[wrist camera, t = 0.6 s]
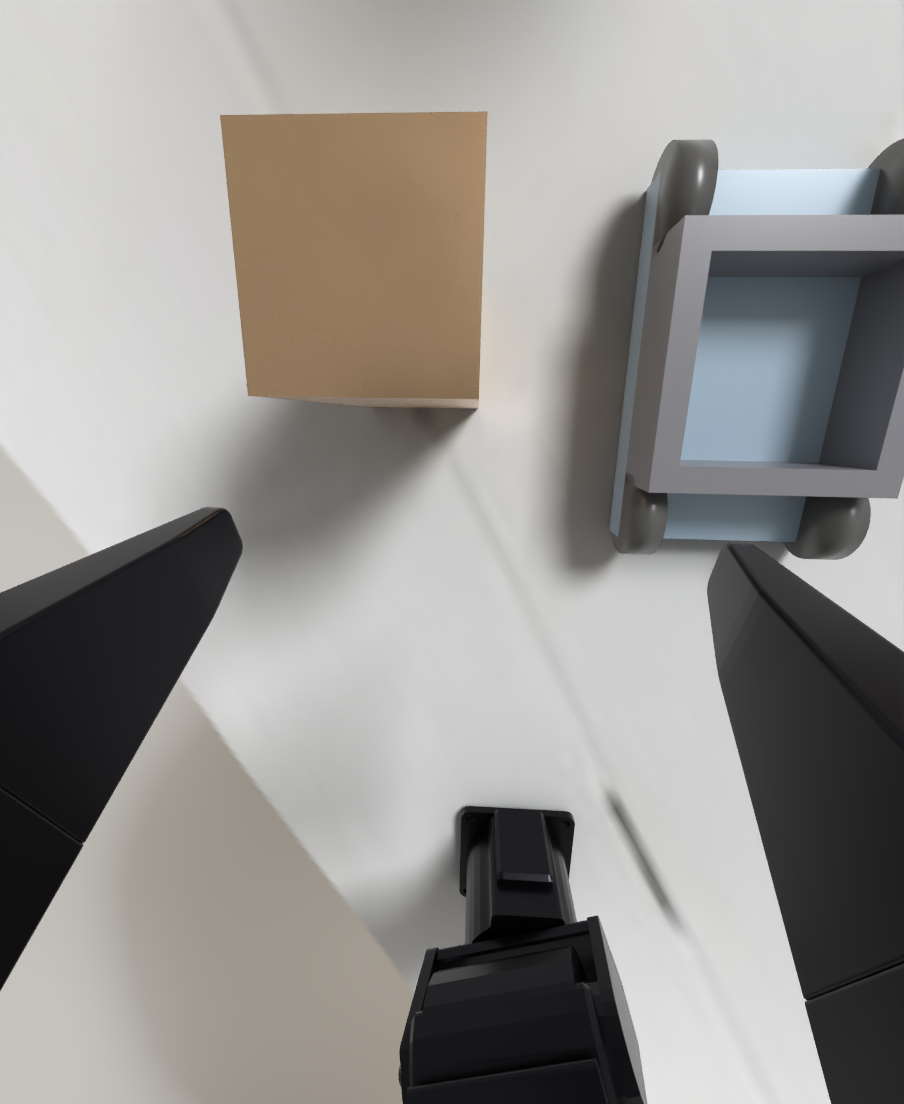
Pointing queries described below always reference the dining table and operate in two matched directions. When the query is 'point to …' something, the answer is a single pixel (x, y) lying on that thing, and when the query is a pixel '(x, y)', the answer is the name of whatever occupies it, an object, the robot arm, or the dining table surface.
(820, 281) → the chassis
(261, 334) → the tall tan wooden block
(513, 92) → the dining table surface
